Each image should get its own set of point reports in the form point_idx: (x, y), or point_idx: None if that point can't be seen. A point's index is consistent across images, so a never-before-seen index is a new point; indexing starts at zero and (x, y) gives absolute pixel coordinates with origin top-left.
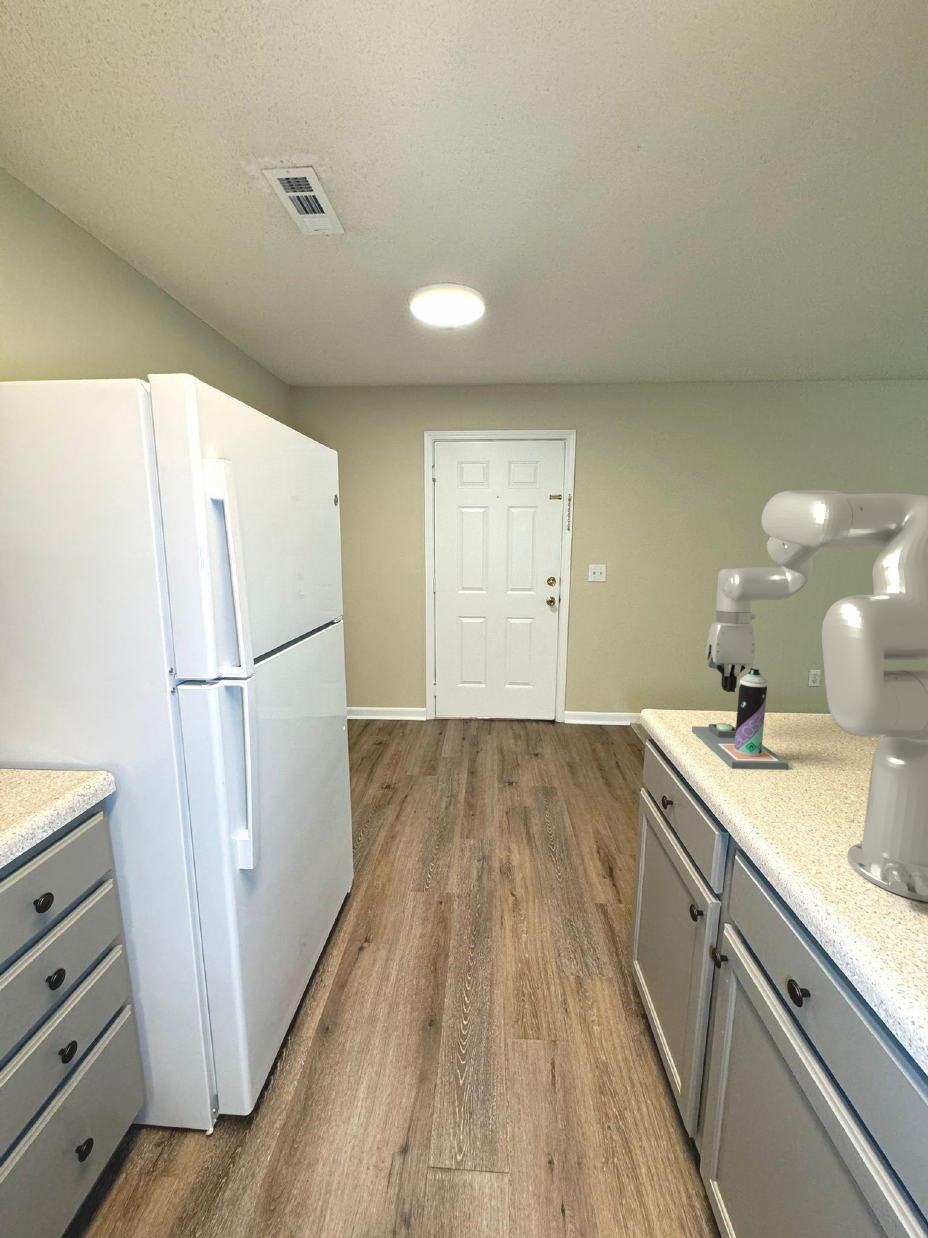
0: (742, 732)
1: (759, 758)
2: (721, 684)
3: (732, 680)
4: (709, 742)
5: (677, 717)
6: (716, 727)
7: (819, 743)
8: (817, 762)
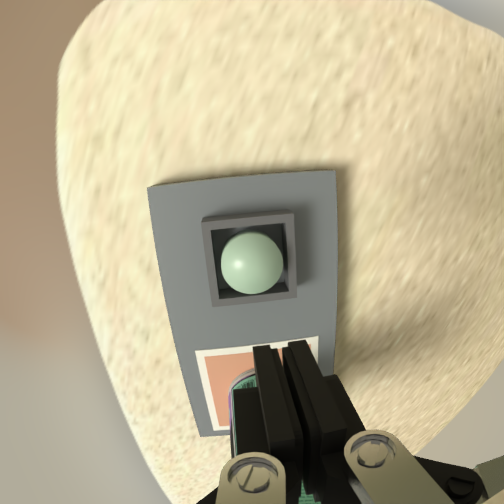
0: None
1: None
2: (233, 398)
3: (302, 476)
4: (173, 334)
5: (148, 32)
6: (221, 256)
7: (485, 240)
8: (412, 358)
